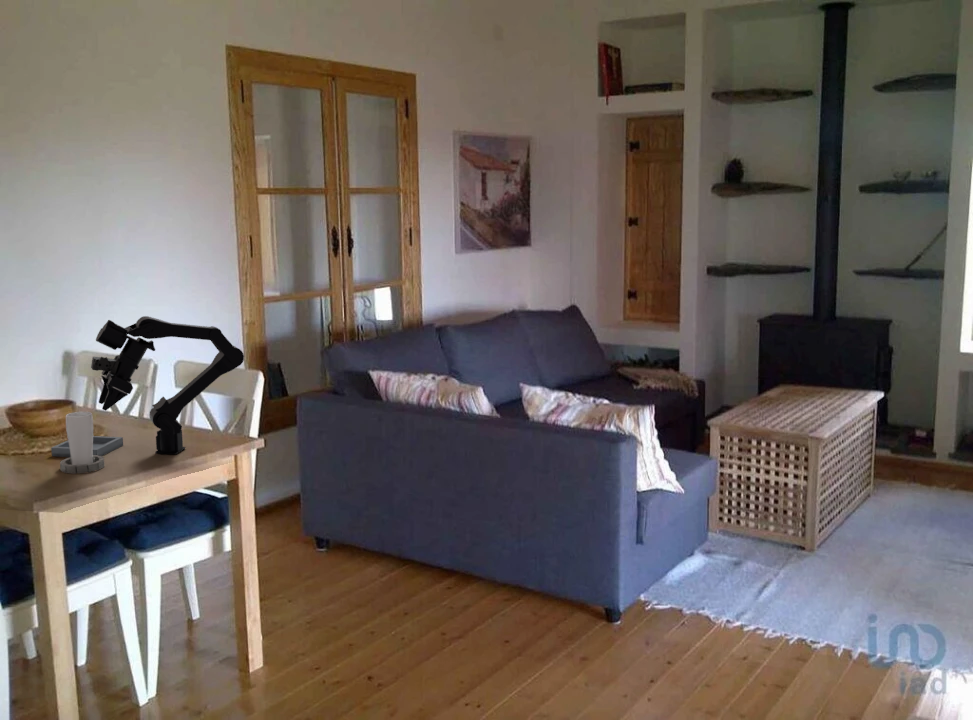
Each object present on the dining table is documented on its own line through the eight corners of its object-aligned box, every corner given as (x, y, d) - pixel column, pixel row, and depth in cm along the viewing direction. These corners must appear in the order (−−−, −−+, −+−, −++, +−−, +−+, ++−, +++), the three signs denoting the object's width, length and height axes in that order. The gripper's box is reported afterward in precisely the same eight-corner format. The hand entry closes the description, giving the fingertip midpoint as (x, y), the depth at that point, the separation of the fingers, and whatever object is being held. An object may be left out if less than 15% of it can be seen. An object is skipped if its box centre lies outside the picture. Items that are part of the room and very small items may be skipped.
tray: (123, 445, 281) (122, 437, 281) (97, 458, 268) (96, 449, 267) (79, 443, 283) (79, 435, 283) (51, 456, 270) (51, 447, 269)
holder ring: (112, 462, 263) (111, 455, 263) (90, 474, 253) (89, 467, 252) (75, 461, 265) (75, 454, 265) (52, 472, 254) (51, 465, 254)
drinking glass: (63, 469, 257) (59, 415, 255) (84, 462, 263) (80, 410, 261) (80, 472, 254) (76, 418, 252) (101, 466, 260) (97, 413, 257)
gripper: (99, 339, 270) (71, 387, 268) (106, 349, 254) (77, 400, 252) (135, 357, 275) (108, 404, 274) (145, 367, 259) (116, 418, 257)
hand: (102, 406), depth 264 cm, fingers open, 9 cm apart
